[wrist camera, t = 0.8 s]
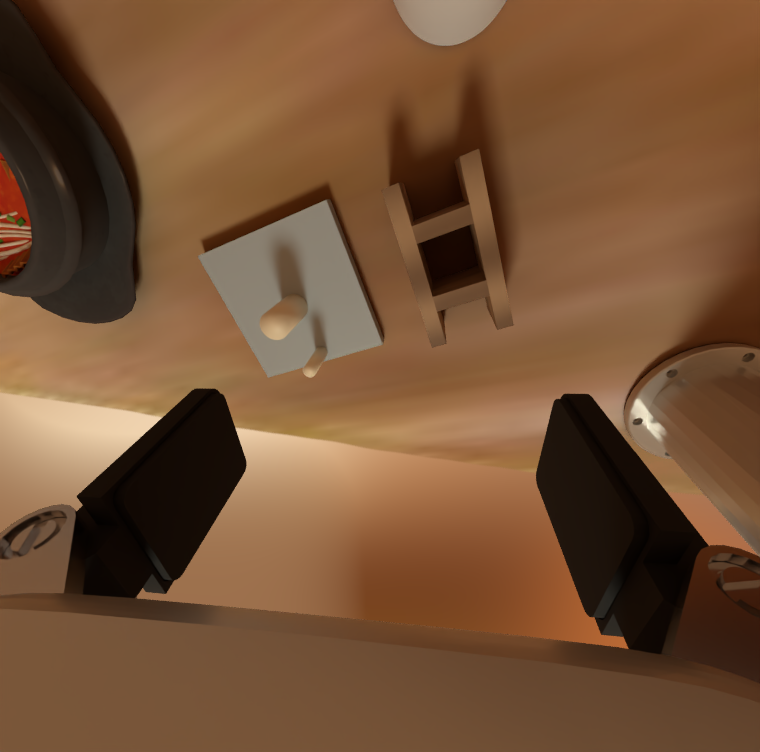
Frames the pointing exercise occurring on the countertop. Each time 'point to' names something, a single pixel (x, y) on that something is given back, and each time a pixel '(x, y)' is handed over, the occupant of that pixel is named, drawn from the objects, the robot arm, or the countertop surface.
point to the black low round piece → (58, 190)
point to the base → (295, 292)
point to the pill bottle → (448, 18)
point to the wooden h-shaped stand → (468, 212)
